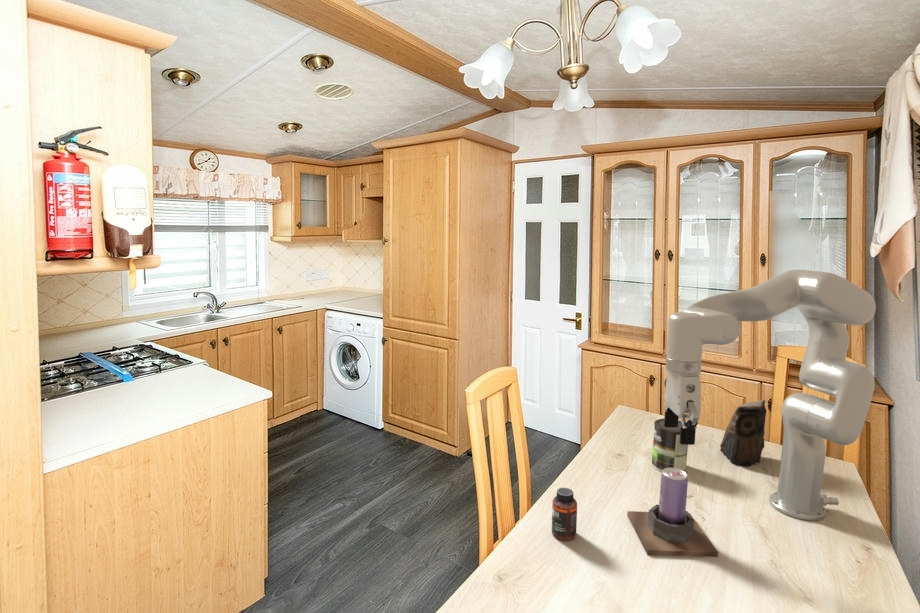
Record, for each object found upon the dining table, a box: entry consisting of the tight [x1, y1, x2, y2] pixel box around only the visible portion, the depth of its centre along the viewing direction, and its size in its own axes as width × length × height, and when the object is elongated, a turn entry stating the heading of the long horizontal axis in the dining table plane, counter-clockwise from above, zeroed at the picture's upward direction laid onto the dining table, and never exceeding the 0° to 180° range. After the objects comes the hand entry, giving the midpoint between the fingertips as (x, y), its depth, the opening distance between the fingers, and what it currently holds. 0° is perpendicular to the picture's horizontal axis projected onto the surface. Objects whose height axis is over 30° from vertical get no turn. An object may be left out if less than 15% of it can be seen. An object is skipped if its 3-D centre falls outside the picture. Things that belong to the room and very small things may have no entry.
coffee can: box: [650, 418, 689, 473], centre depth 158 cm, size 10×10×14 cm
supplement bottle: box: [551, 487, 578, 541], centre depth 123 cm, size 6×6×11 cm
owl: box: [719, 399, 767, 468], centre depth 162 cm, size 13×13×20 cm
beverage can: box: [658, 468, 689, 525], centre depth 122 cm, size 6×6×15 cm
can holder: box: [626, 504, 719, 558], centre depth 123 cm, size 16×16×5 cm
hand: (678, 435), depth 120 cm, fingers open, 9 cm apart
